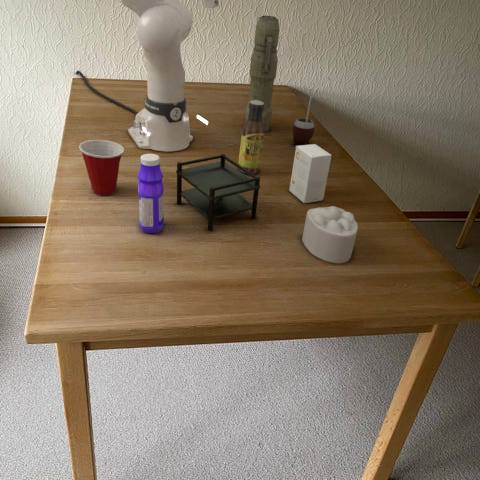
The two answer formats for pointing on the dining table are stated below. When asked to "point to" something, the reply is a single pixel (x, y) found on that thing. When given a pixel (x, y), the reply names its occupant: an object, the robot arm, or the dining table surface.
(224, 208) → the tray
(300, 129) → the mate gourd
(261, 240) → the dining table surface
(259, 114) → the sauce bottle
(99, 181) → the plastic cup
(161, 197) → the bottle
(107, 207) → the dining table surface
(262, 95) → the stone statue
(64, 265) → the dining table surface
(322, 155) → the small box
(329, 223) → the lumpy-topped squat cylinder
